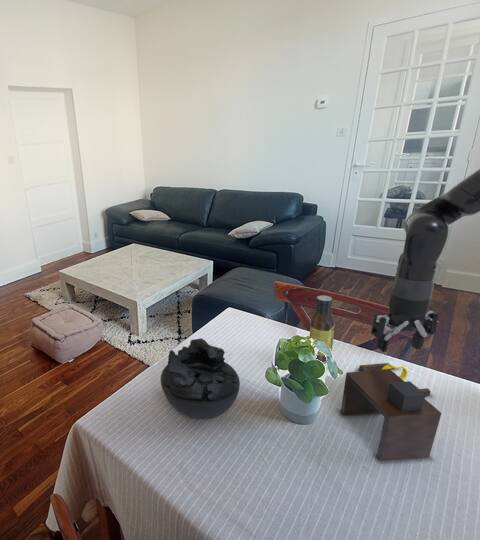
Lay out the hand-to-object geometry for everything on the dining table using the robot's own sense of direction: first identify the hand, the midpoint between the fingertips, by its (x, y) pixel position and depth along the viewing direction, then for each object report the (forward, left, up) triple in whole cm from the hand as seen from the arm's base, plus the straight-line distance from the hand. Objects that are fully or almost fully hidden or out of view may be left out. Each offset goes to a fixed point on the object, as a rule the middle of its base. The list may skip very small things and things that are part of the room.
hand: (398, 349), depth 88 cm
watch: (0, 0, -11) cm, 11 cm away
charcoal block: (+14, +20, +1) cm, 24 cm away
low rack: (0, 0, -11) cm, 11 cm away
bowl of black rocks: (+53, +4, -11) cm, 54 cm away
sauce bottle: (+12, -14, -11) cm, 22 cm away
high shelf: (+14, +16, -11) cm, 24 cm away
